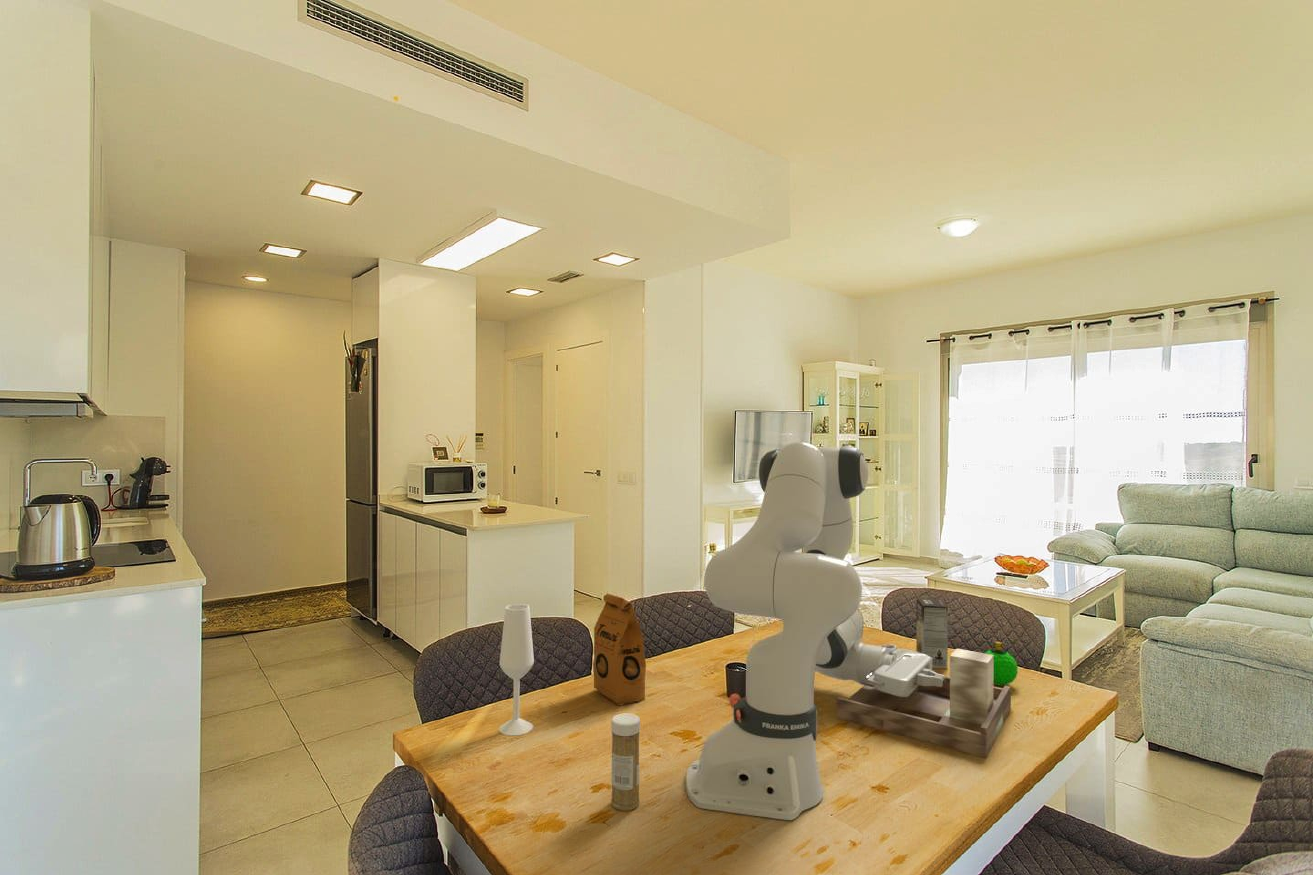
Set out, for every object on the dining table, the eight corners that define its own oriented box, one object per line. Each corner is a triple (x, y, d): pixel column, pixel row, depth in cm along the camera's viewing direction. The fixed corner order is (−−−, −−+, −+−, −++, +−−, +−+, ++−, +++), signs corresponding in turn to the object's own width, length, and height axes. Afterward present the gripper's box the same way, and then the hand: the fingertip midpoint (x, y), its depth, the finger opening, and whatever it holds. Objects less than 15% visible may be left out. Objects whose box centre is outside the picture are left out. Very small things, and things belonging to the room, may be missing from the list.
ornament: (985, 675, 159) (985, 635, 160) (1022, 684, 154) (1022, 642, 154) (974, 684, 154) (974, 642, 154) (1012, 693, 148) (1012, 650, 148)
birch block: (949, 714, 131) (950, 655, 131) (956, 705, 136) (956, 648, 136) (987, 723, 127) (987, 662, 127) (993, 713, 132) (993, 655, 132)
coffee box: (915, 656, 174) (915, 596, 174) (940, 657, 173) (940, 598, 173) (922, 667, 165) (922, 604, 165) (948, 669, 164) (949, 606, 164)
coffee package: (611, 709, 137) (612, 606, 137) (588, 689, 148) (589, 594, 148) (652, 700, 142) (653, 601, 142) (626, 682, 153) (627, 589, 153)
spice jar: (645, 801, 102) (645, 716, 102) (628, 815, 98) (629, 726, 98) (621, 792, 104) (622, 709, 104) (604, 806, 100) (605, 719, 100)
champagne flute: (538, 730, 127) (539, 608, 127) (504, 738, 123) (506, 612, 123) (526, 718, 132) (527, 601, 133) (494, 725, 129) (495, 605, 129)
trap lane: (837, 717, 134) (837, 693, 134) (880, 679, 156) (880, 658, 156) (985, 757, 117) (985, 730, 117) (1010, 708, 139) (1010, 685, 139)
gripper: (861, 665, 135) (930, 680, 126) (892, 642, 151) (955, 654, 142) (861, 695, 135) (930, 712, 126) (892, 669, 151) (955, 682, 142)
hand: (944, 681), depth 134 cm, fingers closed
